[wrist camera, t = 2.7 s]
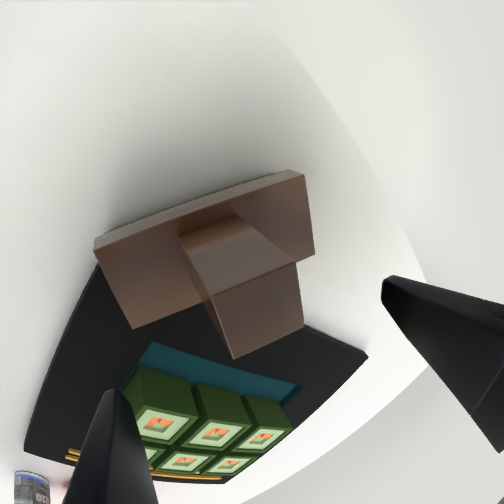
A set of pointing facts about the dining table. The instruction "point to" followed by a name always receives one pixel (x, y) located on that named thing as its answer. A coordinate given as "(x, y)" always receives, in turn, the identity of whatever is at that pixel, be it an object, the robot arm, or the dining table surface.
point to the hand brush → (218, 260)
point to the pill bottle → (30, 489)
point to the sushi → (182, 388)
